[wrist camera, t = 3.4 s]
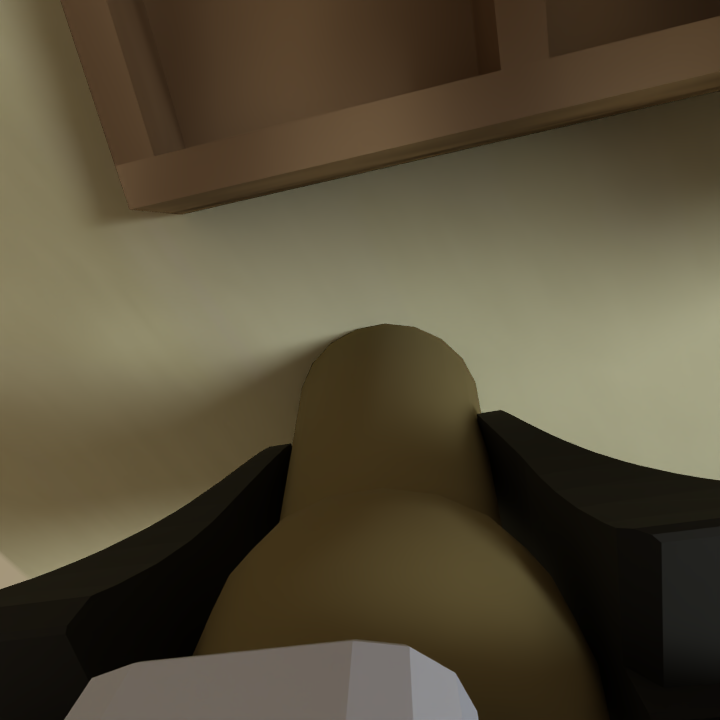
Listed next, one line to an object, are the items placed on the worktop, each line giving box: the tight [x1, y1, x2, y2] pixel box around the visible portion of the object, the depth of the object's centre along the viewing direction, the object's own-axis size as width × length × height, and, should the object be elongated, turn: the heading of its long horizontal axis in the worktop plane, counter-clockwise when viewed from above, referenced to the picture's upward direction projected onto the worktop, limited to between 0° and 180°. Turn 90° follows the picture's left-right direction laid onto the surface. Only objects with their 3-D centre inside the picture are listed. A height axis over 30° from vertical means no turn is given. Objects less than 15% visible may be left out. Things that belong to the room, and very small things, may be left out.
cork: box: [192, 324, 610, 720], centre depth 9 cm, size 6×6×11 cm
